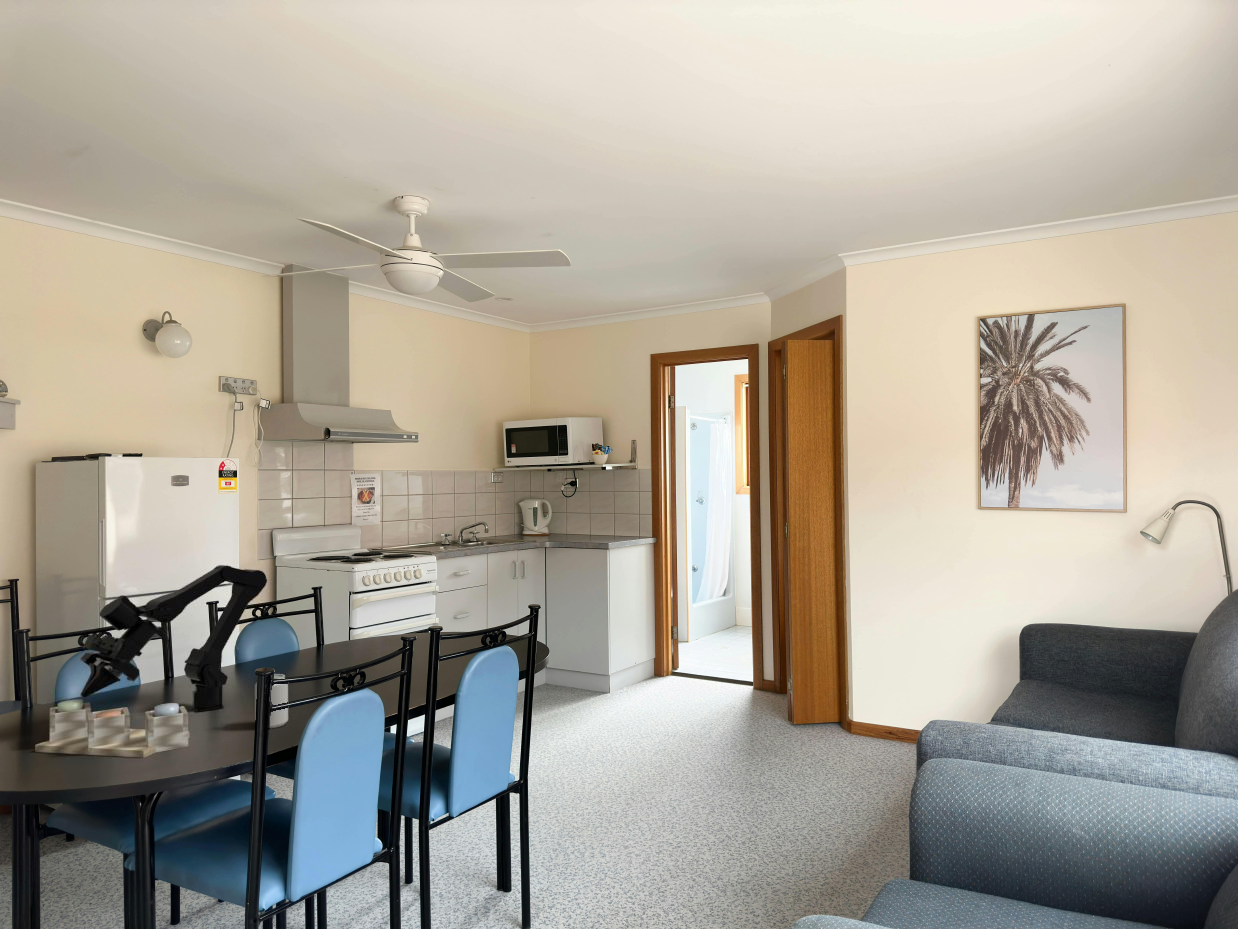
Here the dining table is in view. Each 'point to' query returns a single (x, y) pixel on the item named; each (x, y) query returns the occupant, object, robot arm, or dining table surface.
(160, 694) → the dining table surface
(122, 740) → the button console
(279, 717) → the can
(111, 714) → the button terracotta
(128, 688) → the dining table surface
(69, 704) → the button sage
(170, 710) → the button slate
